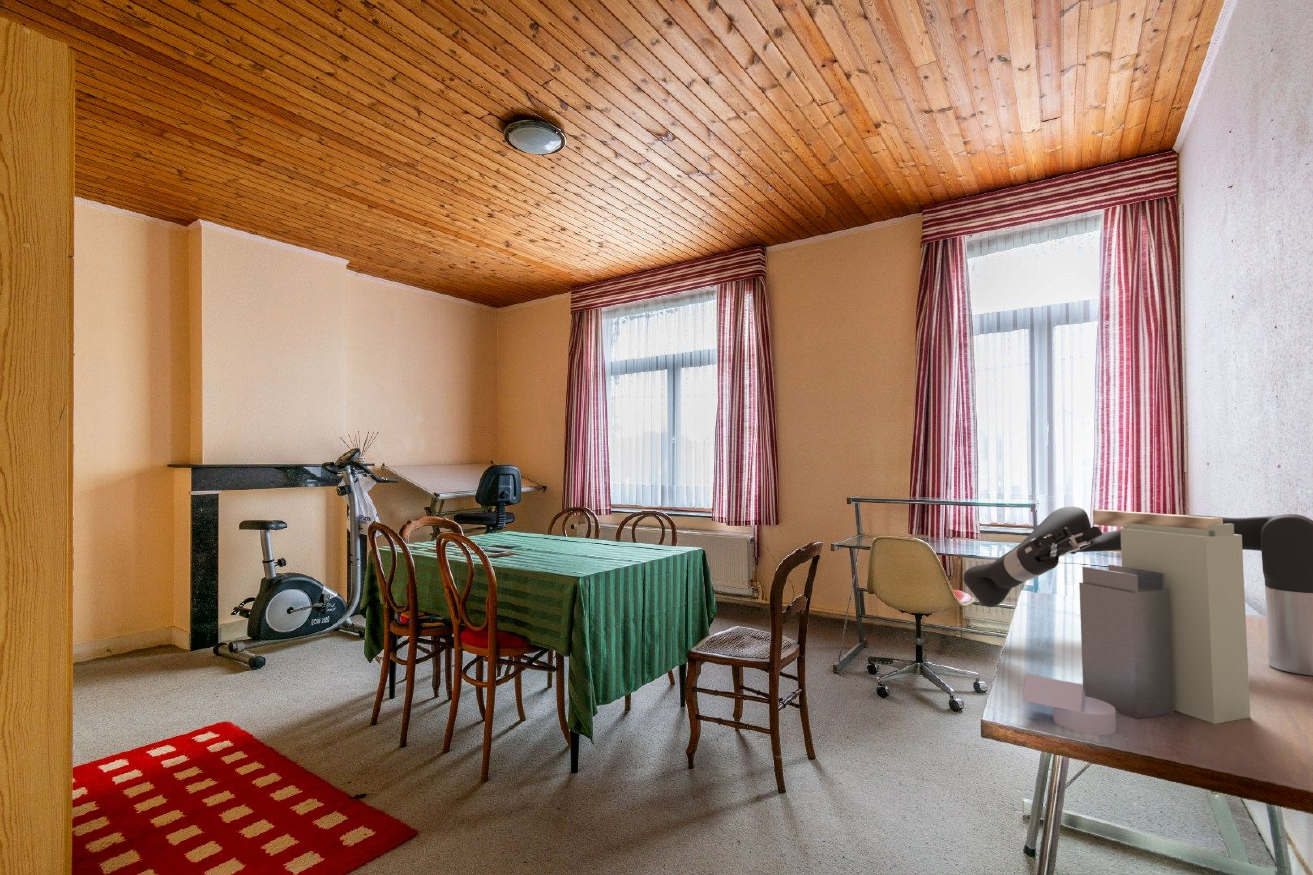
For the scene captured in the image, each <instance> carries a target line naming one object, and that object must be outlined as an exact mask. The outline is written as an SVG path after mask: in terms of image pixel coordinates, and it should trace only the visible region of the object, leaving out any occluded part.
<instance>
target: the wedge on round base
mask: <svg viewBox="0 0 1313 875" xmlns="http://www.w3.org/2000/svg"><path fill="white" fill-rule="evenodd" d="M1022 701H1023V702H1028V703H1034V704H1039V705H1043V706H1048V707H1052V716H1053V718H1052V719H1053V721H1054V722H1055V723H1056V724H1058V725H1059V726H1061V727H1062V728H1063V727H1064V728H1066V729H1068V730H1071V731H1075V732H1078V733H1082V734H1086V735H1096V736H1097V735H1098V736H1109V735H1112V734H1115V733H1116V732H1117V718H1116V717H1117V716H1116V712H1117V711H1116V710H1115V708H1114V707H1113V706H1112V705H1110V704H1108V703H1106V702H1104V701H1101V700H1098V699H1095V698H1091V697H1086V695H1085V692H1084V688H1083V683H1076V682H1071V681H1064V680H1060V679H1056V678H1055V679H1053V678H1049V677H1048V678H1047V677H1043V676H1037V675H1032V674H1026V675H1025V683H1024V688H1023V695H1022Z"/></svg>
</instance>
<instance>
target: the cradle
mask: <svg viewBox="0 0 1313 875" xmlns="http://www.w3.org/2000/svg"><path fill="white" fill-rule="evenodd" d="M1107 567H1108V568H1107V569H1102V568H1095V567H1091V566H1090V567H1089V566H1082V567H1081V568H1082V581H1081V582H1079V584H1078V585H1079V607H1080V608H1079V611H1080V615H1079V616H1080V638H1081V639H1080V640H1081V666H1082V667H1081V668H1082V684H1083V688H1084V692H1085V695H1086V697H1091V698H1095V699H1098V700H1101V701H1104V702H1106V703H1108V704H1110V705H1112V706H1113V707H1114V708H1115V710H1116V712H1117V713H1120V714H1122V715H1125V716H1128V717H1130V718H1132V719H1136V720H1140V719H1145V718H1152V717H1158V716H1163V715H1164V716H1165V715H1170V714H1175V710H1174V702H1173V678H1172V654H1171V631H1170V607H1169V589H1165V575H1164V573H1161V572H1154V571H1148V570H1141V569H1135V568H1129V567H1122V565H1115V564H1108V565H1107Z"/></svg>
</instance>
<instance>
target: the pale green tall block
mask: <svg viewBox="0 0 1313 875" xmlns="http://www.w3.org/2000/svg"><path fill="white" fill-rule="evenodd" d="M1127 527H1128V528H1124V527H1122V528H1123V529H1122V528H1120V532H1121V551H1120V554H1121V555H1120V556H1121V557H1120V558H1121V566H1122V567H1129V568H1135V569H1141V570H1148V571H1154V572H1161V573H1164V575H1165V589H1169V607H1170V631H1171V654H1172V678H1173V702H1174V711H1176V712H1179V713H1182V714H1184V715H1187V716H1191V717H1193V718H1196V719H1198V720H1202V721H1205V722H1207V723H1211V724H1213V725H1216V724H1221V723H1222V724H1223V723H1227V722H1233V721H1238V720H1245V719H1248V718H1249V719H1250V718H1251V704H1250V703H1251V702H1250V685H1249V684H1250V682H1249V661H1248V658H1249V657H1248V642H1247V641H1248V638H1247V636H1248V635H1247V619H1246V617H1247V616H1246V614H1247V613H1246V597H1245V579H1244V578H1245V575H1244V557H1243V555H1244V554H1243V553H1244V552H1243V550H1242V535H1237V534H1234V524H1212V525H1209V530H1203V529H1191V528H1180V527H1169V526H1157V525H1146V524H1134V523H1127Z"/></svg>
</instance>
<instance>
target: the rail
mask: <svg viewBox="0 0 1313 875" xmlns="http://www.w3.org/2000/svg"><path fill="white" fill-rule="evenodd" d="M1186 515H1187V514H1170V513H1169V514H1168V513H1157V512H1139V511H1127V510H1112V509H1111V510H1110V509H1093V510H1092V521H1093V522H1092V523H1093V524H1092V525H1094V526H1095V525H1096V526H1106V527H1116V528H1124V527H1126V528H1128V527H1127V523H1134V524H1146V525H1157V526H1169V527H1180V528H1191V529H1203V530H1209V525H1212V524H1223V518H1214V517H1215V516H1214V517H1200V516H1201V515H1200V516H1186Z"/></svg>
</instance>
